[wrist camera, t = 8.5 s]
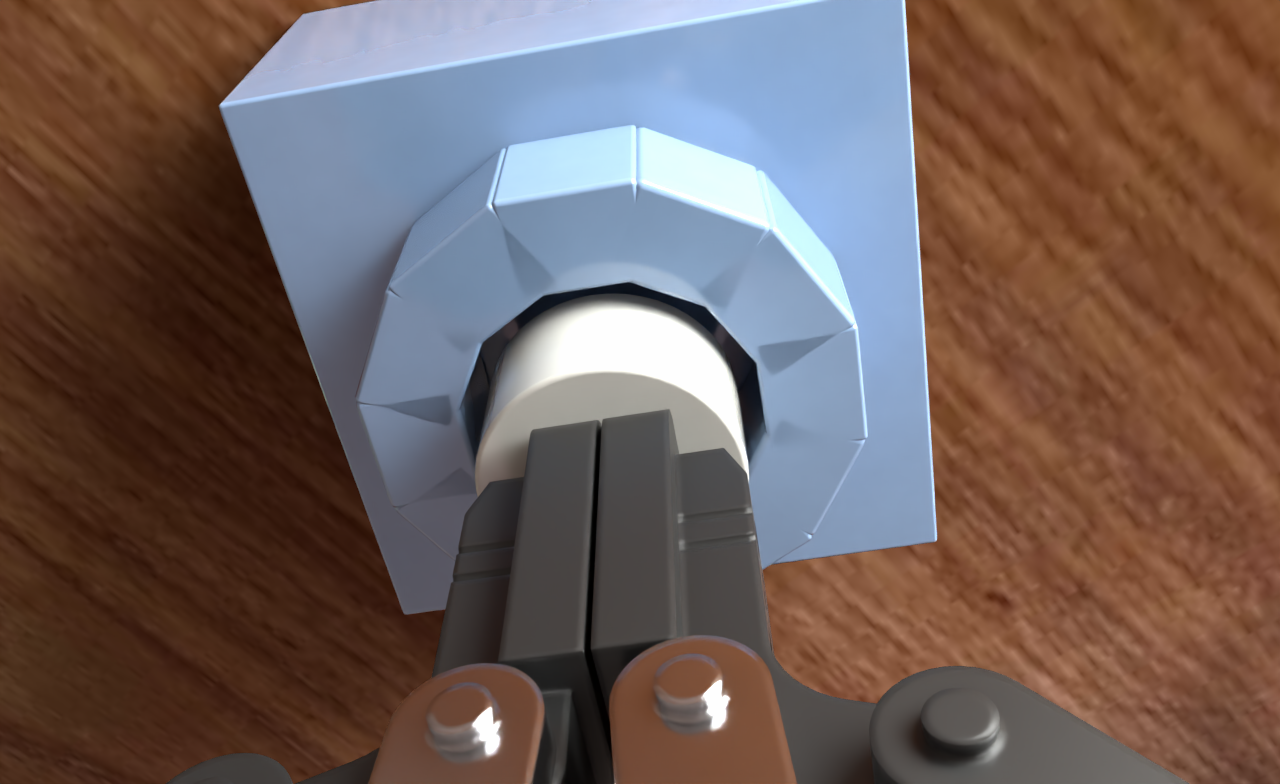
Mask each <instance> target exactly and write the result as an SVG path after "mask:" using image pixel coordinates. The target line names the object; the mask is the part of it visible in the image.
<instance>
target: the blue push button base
mask: <svg viewBox="0 0 1280 784" xmlns="http://www.w3.org/2000/svg"><path fill="white" fill-rule="evenodd" d="M219 110H220V112H221V115H222V118H223V121H224V123H225V126H226V129H227V131H228V134H229V137H230V140H231V142H232V145H233V148H234V151H235V153H236V156H237V159H238V162H239V164H240V167H241V170H242V173H243V175H244V178H245V181H246V183H247V186H248V189H249V192H250V194H251V197H252V200H253V203H254V205H255V208H256V211H257V214H258V216H259V219H260V222H261V225H262V227H263V230H264V233H265V235H266V238H267V241H268V244H269V246H270V249H271V252H272V255H273V257H274V260H275V263H276V266H277V268H278V271H279V274H280V277H281V279H282V282H283V285H284V288H285V290H286V293H287V296H288V298H289V301H290V304H291V307H292V309H293V312H294V315H295V318H296V320H297V323H298V326H299V329H300V331H301V334H302V337H303V340H304V342H305V345H306V348H307V350H308V353H309V356H310V359H311V361H312V364H313V367H314V370H315V372H316V375H317V378H318V381H319V383H320V386H321V389H322V392H323V394H324V397H325V400H326V402H327V405H328V408H329V411H330V413H331V416H332V419H333V422H334V424H335V427H336V430H337V433H338V435H339V438H340V441H341V444H342V446H343V449H344V452H345V454H346V457H347V460H348V463H349V465H350V468H351V471H352V474H353V476H354V479H355V482H356V485H357V487H358V490H359V493H360V496H361V498H362V501H363V504H364V507H365V509H366V512H367V515H368V517H369V520H370V523H371V526H372V528H373V531H374V534H375V537H376V539H377V542H378V545H379V548H380V550H381V553H382V556H383V559H384V561H385V564H386V567H387V569H388V572H389V575H390V578H391V580H392V583H393V586H394V589H395V591H396V594H397V597H398V600H399V602H400V605H401V608H402V611H403V613H404V614H406V615H407V614H415V613H422V612H429V611H437V610H444V609H446V604H447V599H448V595H449V590H450V585H451V582H453V576H452V575H453V570H454V565H455V560H456V555H457V554H459V550H458V545H459V541H460V536H461V531H462V526H463V521H464V516H465V513H466V512H467V511H468V509H469V508H470V507H471V506H472V504H473V503H474V502H475V500H476V499H477V494H476V489H475V474H474V473H475V464H476V456H477V451H478V446H479V441H480V436H481V431H482V426H483V421H484V416H485V411H486V406H487V401H488V396H489V391H490V386H491V381H492V377H493V373H494V370H495V367H496V365H497V362H498V360H499V358H500V355H501V354H502V352H503V351H504V349H505V347H506V346H507V344H508V343H509V341H510V340H511V339H512V338H513V337H514V336H515V334H516V333H517V332H518V331H519V330H520V329H521V328H522V327H523V326H525V325H526V324H527V323H528V322H529V321H530V320H532V319H533V318H535V317H536V316H538V315H539V314H541V313H542V312H544V311H546V310H548V309H550V308H552V307H554V306H556V305H558V304H560V303H563V302H566V301H569V300H572V299H575V298H579V297H584V296H588V295H595V294H605V293H618V294H631V295H638V296H643V297H647V298H651V299H655V300H658V301H661V302H663V303H666V304H668V305H671V306H673V307H675V308H677V309H679V310H680V311H682V312H684V313H686V314H688V315H689V316H690V317H692V318H693V319H695V320H696V321H697V322H699V323H700V324H701V325H702V326H703V327H705V328H706V329H707V330H708V331H709V332H710V333H711V334H712V335H713V336H714V338H715V339H716V340H717V341H718V343H719V344H720V345H721V346H722V348H723V350H724V352H725V353H726V355H727V357H728V358H729V361H730V363H731V365H732V368H733V370H734V373H735V377H736V382H737V386H738V393H739V400H740V407H741V415H742V422H743V429H744V436H745V443H746V451H747V458H748V466H749V488H750V494H751V501H752V507H753V513H754V520H755V526H756V532H757V539H758V545H759V551H760V558H761V564H762V570H763V569H765V568H767V567H768V566H770V565H772V564H779V563H787V562H794V561H801V560H808V559H816V558H823V557H830V556H838V555H845V554H852V553H859V552H867V551H874V550H881V549H889V548H896V547H903V546H910V545H918V544H925V543H932V542H936V540H937V525H936V509H935V492H934V475H933V458H932V442H931V425H930V408H929V392H928V375H927V358H926V342H925V325H924V308H923V291H922V275H921V258H920V241H919V225H918V208H917V191H916V175H915V158H914V141H913V124H912V108H911V91H910V74H909V58H908V41H907V24H906V7H905V0H377V1H372V2H366V3H361V4H355V5H350V6H344V7H339V8H334V9H328V10H323V11H317V12H312V13H306V14H303V15H302V16H301V17H300V18H299V19H298V20H297V21H296V22H295V23H294V24H293V25H292V26H291V27H290V29H289V30H288V31H287V32H286V33H285V34H284V35H283V36H282V37H281V38H280V39H279V40H278V42H277V43H276V44H275V45H274V46H273V47H272V48H271V49H270V50H269V51H268V52H267V53H266V55H265V56H264V57H263V58H262V59H261V60H260V61H259V62H258V63H257V64H256V65H255V66H254V67H253V69H252V70H251V71H250V72H249V73H248V74H247V75H246V76H245V77H244V78H243V79H242V80H241V82H240V83H239V84H238V85H237V86H236V87H235V88H234V89H233V90H232V91H231V92H230V93H229V95H228V96H227V97H226V98H225V99H224V100H223V101H222V102H221V103H220V104H219Z"/></svg>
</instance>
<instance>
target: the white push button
mask: <svg viewBox="0 0 1280 784" xmlns="http://www.w3.org/2000/svg"><path fill="white" fill-rule="evenodd" d="M665 409H670V412H671V415H672V419H673V424H674V429H675V434H676V439H677V445H678V450H679V454H684V453H691V452H698V451H705V450H712V449H719V448H724V449H725V450H726V451H727V452H728V453H729V454H730V455H731V456H732V457H733V458H734V460H735V461H736V462H737V463H738V464H739V465H740V466H741V467H742V468H743V469H744V471H745V472H746V473H747V475H748V482H749V466H748V458H747V451H746V443H745V436H744V429H743V422H742V415H741V407H740V400H739V393H738V386H737V382H736V377H735V373H734V370H733V368H732V365H731V363H730V361H729V358H728V357H727V355H726V353H725V352H724V350H723V348H722V346H721V345H720V344H719V343H718V341H717V340H716V339H715V338H714V336H713V335H712V334H711V333H710V332H709V331H708V330H707V329H706V328H705V327H703V326H702V325H701V324H700V323H699V322H697V321H696V320H695V319H693V318H692V317H690V316H689V315H688V314H686V313H684V312H682V311H680V310H679V309H677V308H675V307H673V306H671V305H668V304H666V303H663V302H661V301H658V300H655V299H651V298H647V297H643V296H638V295H631V294H618V293H605V294H595V295H588V296H584V297H579V298H575V299H572V300H569V301H566V302H563V303H560V304H558V305H556V306H554V307H552V308H550V309H548V310H546V311H544V312H542V313H541V314H539V315H538V316H536V317H535V318H533V319H532V320H530V321H529V322H528V323H527V324H526V325H525V326H523V327H522V328H521V329H520V330H519V331H518V332H517V333H516V334H515V336H514V337H513V338H512V339H511V340H510V341H509V343H508V344H507V346H506V347H505V349H504V351H503V352H502V354H501V355H500V358H499V360H498V362H497V365H496V367H495V370H494V373H493V377H492V381H491V386H490V391H489V396H488V401H487V406H486V411H485V416H484V421H483V426H482V431H481V436H480V441H479V446H478V451H477V456H476V464H475V473H474V474H475V489H476V494H477V498H478V496H479V495H480V494H481V493H482V491H483V490H484V489H485V487H486V486H487V485H488V484H489V482H492V481H499V480H506V479H513V478H520V477H524V474H525V467H526V460H527V453H528V446H529V438H530V433H531V431H532V430H533V429H539V428H546V427H552V426H559V425H566V424H573V423H579V422H586V421H593V420H599V421H600V423H601V425H602V421H603V419H605V418H611V417H618V416H625V415H632V414H638V413H645V412H652V411H659V410H665Z"/></svg>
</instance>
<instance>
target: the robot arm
mask: <svg viewBox="0 0 1280 784" xmlns="http://www.w3.org/2000/svg"><path fill="white" fill-rule="evenodd" d="M458 550H459V554H457V555H456V560H455V565H454V570H453V575H452V576H453V582H451V585H450V590H449V595H448V599H447V604H446V609H445V614H444V619H443V624H442V629H441V634H440V639H439V644H438V649H437V653H436V658H435V663H434V668H433V673H432V678H431V679H429V680H427V681H426V682H424V683H423V684H421V685H420V686H418V687H417V688H416V689H415V690H413V691H412V692H411V693H410V694H409V695H408V696H407V697H406V698H405V699H404V700H403V701H402V702H401V703H400V705H399V706H398V707H397V709H396V710H395V712H394V713H393V715H392V716H391V718H390V721H389V723H388V725H387V728H386V731H385V734H384V737H383V740H382V743H381V746H380V747H379V748H378V749H376V750H374V751H372V752H371V753H369V754H367V755H365V756H363V757H361V758H359V759H357V760H354V761H352V762H350V763H347V764H345V765H342V766H339V767H337V768H334V769H332V770H329V771H327V772H324V773H321V774H319V775H316V776H314V777H311V778H309V779H306V780H304V781H301V782H298V783H296V784H1189V783H1188V782H1186V781H1184V780H1183V779H1181V778H1179V777H1177V776H1176V775H1174V774H1172V773H1171V772H1169V771H1167V770H1166V769H1164V768H1162V767H1161V766H1159V765H1157V764H1155V763H1154V762H1152V761H1150V760H1149V759H1147V758H1145V757H1144V756H1142V755H1140V754H1139V753H1137V752H1135V751H1134V750H1132V749H1130V748H1128V747H1127V746H1125V745H1123V744H1122V743H1120V742H1118V741H1117V740H1115V739H1113V738H1112V737H1110V736H1108V735H1106V734H1105V733H1103V732H1101V731H1100V730H1098V729H1096V728H1095V727H1093V726H1091V725H1090V724H1088V723H1086V722H1084V721H1083V720H1081V719H1079V718H1078V717H1076V716H1074V715H1073V714H1071V713H1069V712H1068V711H1066V710H1064V709H1062V708H1061V707H1059V706H1057V705H1056V704H1054V703H1052V702H1051V701H1049V700H1047V699H1046V698H1044V697H1042V696H1041V695H1039V694H1037V693H1035V692H1034V691H1032V690H1030V689H1029V688H1027V687H1025V686H1024V685H1022V684H1020V683H1019V682H1017V681H1015V680H1013V679H1011V678H1009V677H1007V676H1005V675H1002V674H999V673H996V672H993V671H990V670H985V669H981V668H976V667H965V666H949V667H939V668H933V669H928V670H925V671H922V672H919V673H916V674H913V675H911V676H909V677H907V678H905V679H903V680H901V681H900V682H898V683H897V684H895V685H894V686H892V687H891V688H890V689H889V690H888V691H887V692H886V693H885V694H884V695H883V696H882V698H881V699H880V700H879V702H878V703H877V704H875V703H867V702H860V701H853V700H846V699H841V698H836V697H831V696H828V695H825V694H822V693H819V692H816V691H814V690H812V689H810V688H808V687H806V686H804V685H802V684H801V683H799V682H798V681H796V680H795V679H793V678H792V677H791V676H790V675H789V674H788V673H787V672H786V671H785V670H784V669H783V668H782V667H781V665H780V664H779V663H778V661H777V660H776V658H775V656H774V651H773V643H772V635H771V628H770V621H769V613H768V605H767V598H766V591H765V583H764V577H763V570H762V564H761V558H760V551H759V545H758V539H757V532H756V526H755V520H754V513H753V507H752V501H751V494H750V488H749V482H748V475H747V473H746V472H745V471H744V469H743V468H742V467H741V466H740V465H739V464H738V463H737V462H736V461H735V460H734V458H733V457H732V456H731V455H730V454H729V453H728V452H727V451H726V450H725V449H724V448H719V449H712V450H705V451H698V452H691V453H684V454H679V450H678V445H677V439H676V434H675V429H674V424H673V419H672V415H671V412H670V409H665V410H659V411H652V412H645V413H638V414H632V415H625V416H618V417H611V418H605V419H603V421H602V425H601V423H600V421H599V420H593V421H586V422H579V423H573V424H566V425H559V426H552V427H546V428H539V429H533V430H532V431H531V433H530V438H529V446H528V453H527V460H526V467H525V474H524V477H520V478H513V479H506V480H499V481H492V482H489V484H488V485H487V486H486V487H485V489H484V490H483V491H482V493H481V494H480V495H479V496H478V498H477V499H476V500H475V502H474V503H473V504H472V506H471V507H470V508H469V509H468V511H467V512H466V513H465V516H464V521H463V526H462V531H461V536H460V541H459V545H458ZM166 784H293V782H292V780H291V778H290V776H289V774H288V773H287V771H286V770H285V768H284V767H283V766H282V765H281V764H279V763H278V762H277V761H275V760H273V759H271V758H269V757H267V756H263V755H259V754H253V753H237V754H229V755H224V756H219V757H216V758H213V759H210V760H207V761H204V762H201V763H199V764H197V765H195V766H193V767H191V768H189V769H187V770H185V771H184V772H182V773H180V774H179V775H177V776H175V777H174V778H173V779H171V780H170V781H169V782H167V783H166Z"/></svg>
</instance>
